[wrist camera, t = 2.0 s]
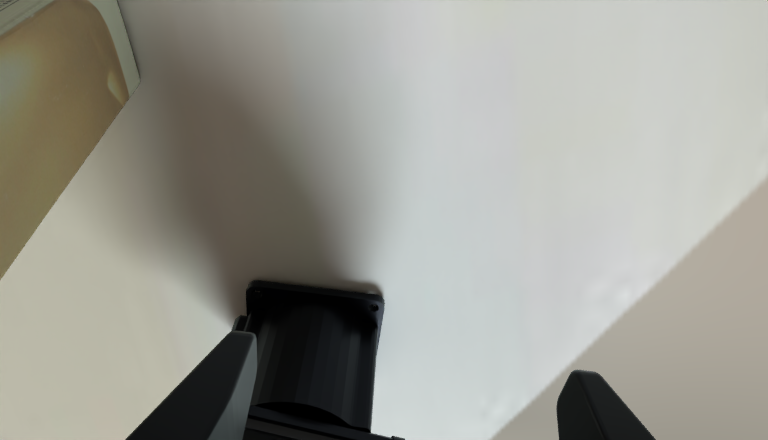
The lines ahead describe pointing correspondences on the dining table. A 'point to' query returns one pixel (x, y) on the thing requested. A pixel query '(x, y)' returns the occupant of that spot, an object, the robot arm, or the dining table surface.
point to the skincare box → (54, 102)
